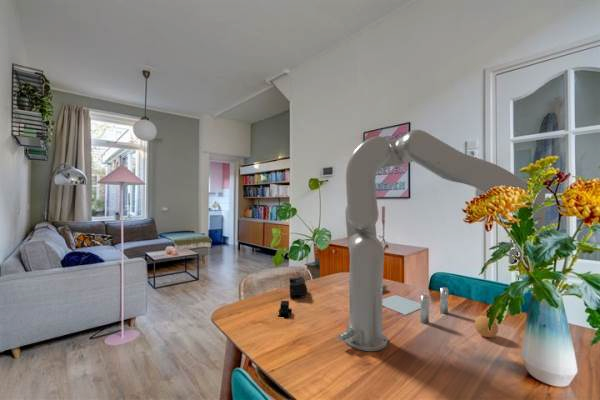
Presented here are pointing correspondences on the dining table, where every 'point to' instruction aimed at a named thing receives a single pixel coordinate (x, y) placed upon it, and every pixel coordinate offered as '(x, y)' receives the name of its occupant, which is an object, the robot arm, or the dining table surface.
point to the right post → (444, 300)
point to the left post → (425, 309)
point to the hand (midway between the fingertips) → (525, 289)
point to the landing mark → (401, 304)
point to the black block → (285, 310)
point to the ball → (485, 327)
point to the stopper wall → (384, 287)
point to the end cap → (297, 288)
